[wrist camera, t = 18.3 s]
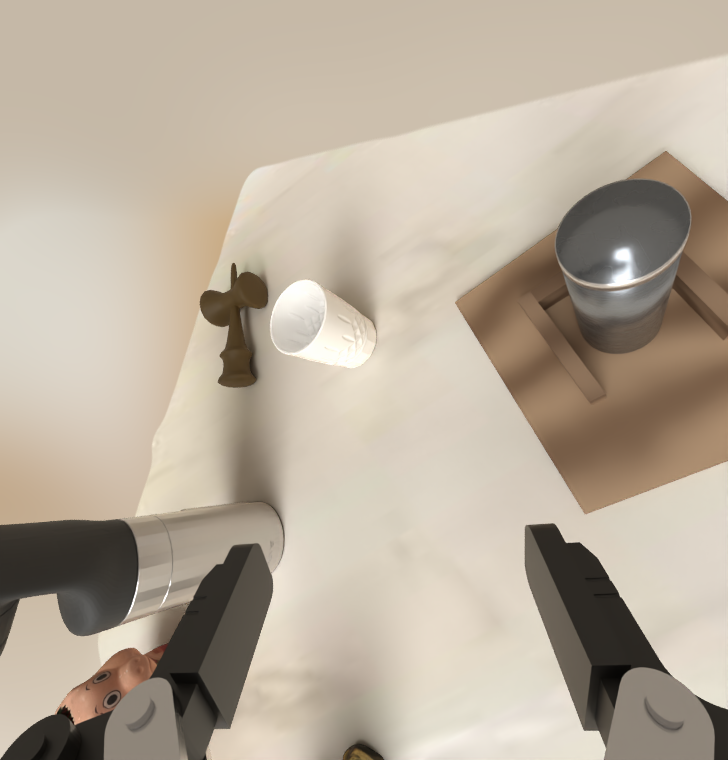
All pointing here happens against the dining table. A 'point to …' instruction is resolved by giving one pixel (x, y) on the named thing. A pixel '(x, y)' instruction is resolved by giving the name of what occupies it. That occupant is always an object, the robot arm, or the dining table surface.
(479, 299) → the walnut bracket
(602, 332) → the graphite canister
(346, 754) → the figurine
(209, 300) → the kendama
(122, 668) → the decorative planter
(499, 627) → the dining table surface
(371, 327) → the white cup
